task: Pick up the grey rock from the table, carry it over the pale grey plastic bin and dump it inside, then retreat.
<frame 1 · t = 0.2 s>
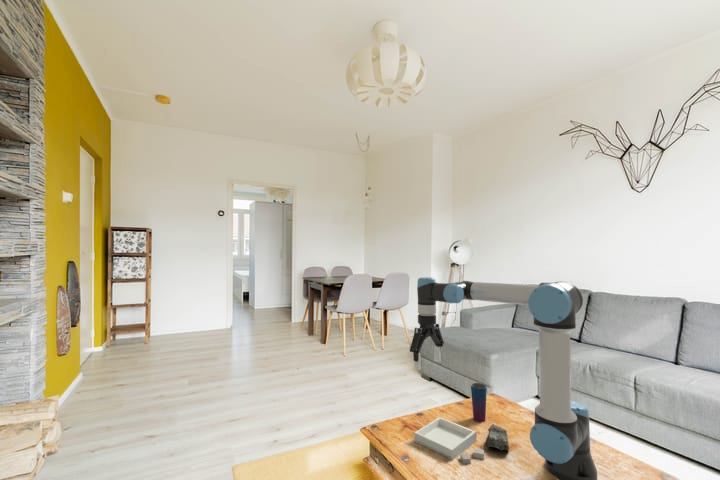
hand: (427, 365, 143), 28 cm above the table, fingers open, 13 cm apart
rock: (497, 447, 132), on the table
chip a: (478, 456, 125), on the table
cup: (479, 419, 153), on the table
chip b: (465, 461, 123), on the table
bin: (445, 441, 136), on the table
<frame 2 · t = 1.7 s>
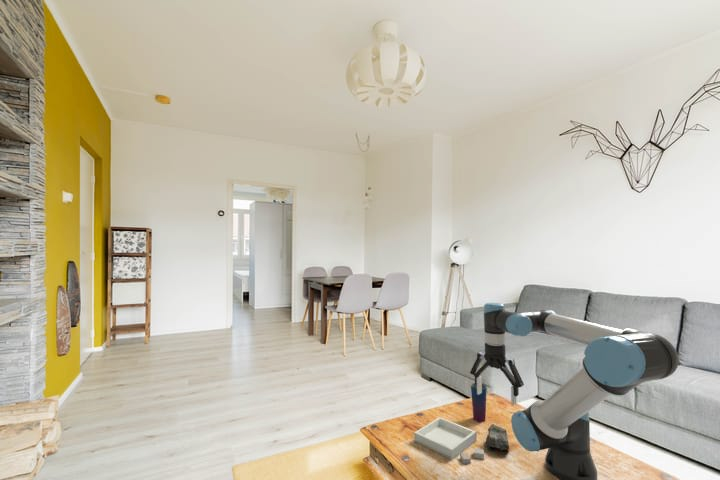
hand: (496, 398, 132), 18 cm above the table, fingers open, 13 cm apart
nothing on the table moved.
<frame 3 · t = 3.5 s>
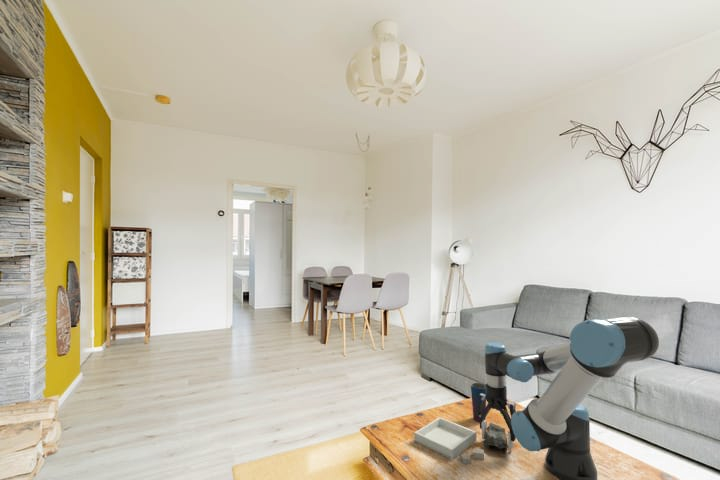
hand: (497, 443, 132), 1 cm above the table, fingers closed on rock, 10 cm apart
rock: (496, 445, 132), on the table, touching gripper
everything else where it was.
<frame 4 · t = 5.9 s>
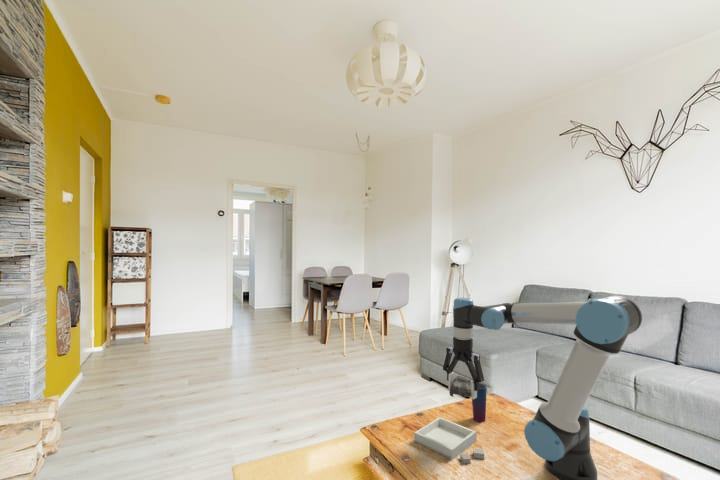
hand: (462, 393, 136), 19 cm above the table, fingers closed on rock, 10 cm apart
rock: (461, 396, 137), point 17 cm above the table, touching gripper
everything else where it was.
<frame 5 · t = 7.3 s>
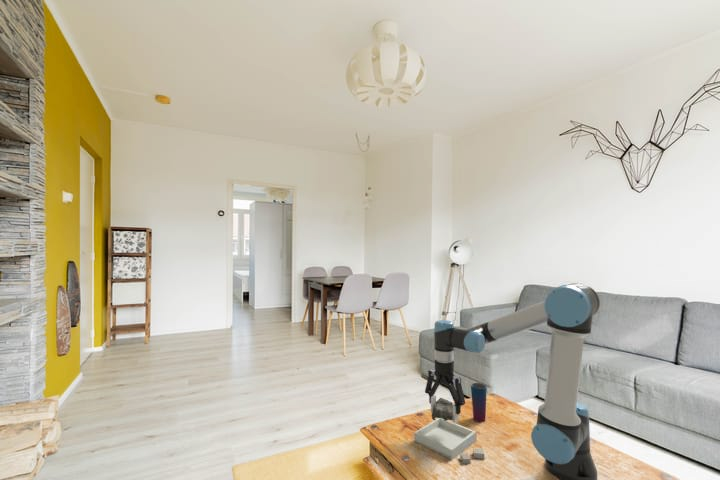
hand: (444, 416, 136), 9 cm above the table, fingers closed on rock, 10 cm apart
rock: (443, 419, 137), point 8 cm above the table, touching gripper
everything else where it was.
when the fingers open (5 cm above the table, at t = 8.3 s): rock drops 3 cm, resting on bin.
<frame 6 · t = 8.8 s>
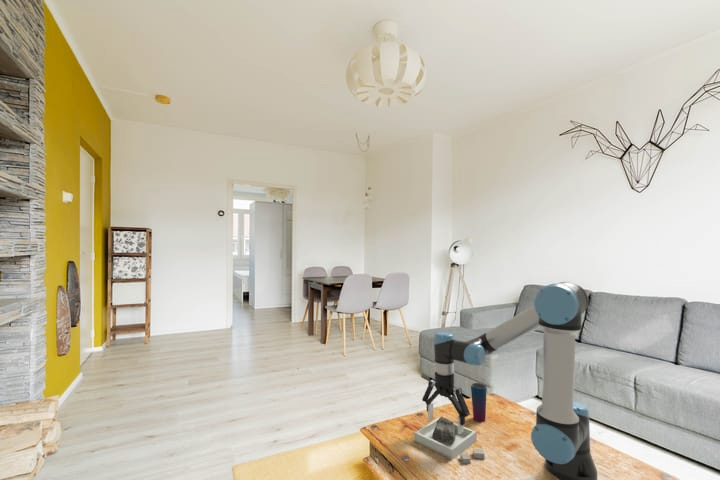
hand: (445, 426, 136), 6 cm above the table, fingers open, 13 cm apart
rock: (444, 438, 136), point 1 cm above the table, touching bin
everything else where it was.
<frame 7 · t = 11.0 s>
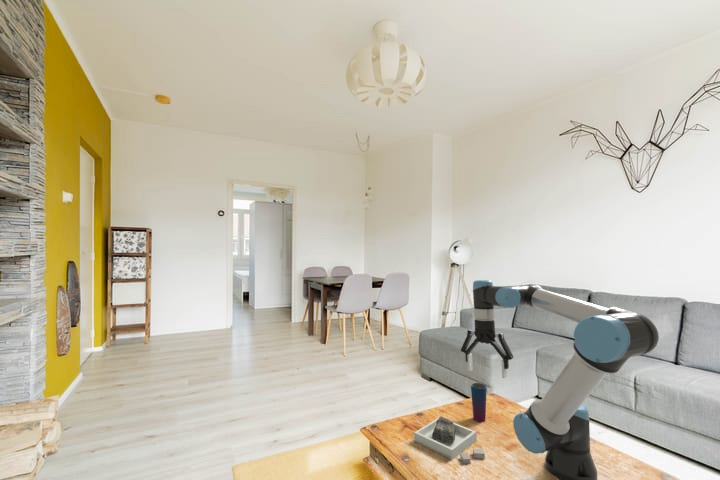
hand: (486, 373, 135), 27 cm above the table, fingers open, 13 cm apart
nothing on the table moved.
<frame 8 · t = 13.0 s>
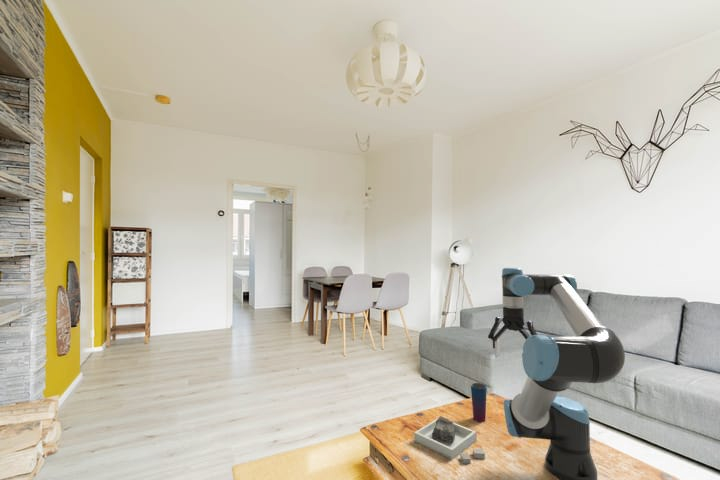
hand: (514, 360, 135), 32 cm above the table, fingers open, 13 cm apart
nothing on the table moved.
at the end: rock inside the target area on the bin (1.1 cm from its centre), point 0.6 cm above the bin's base; the gripper is holding nothing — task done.
